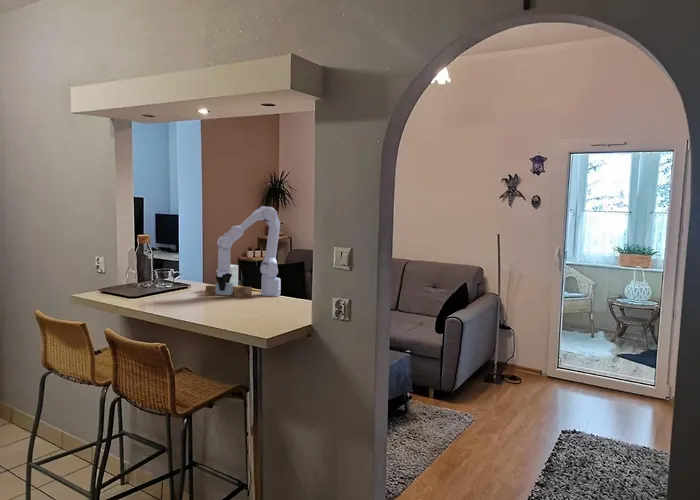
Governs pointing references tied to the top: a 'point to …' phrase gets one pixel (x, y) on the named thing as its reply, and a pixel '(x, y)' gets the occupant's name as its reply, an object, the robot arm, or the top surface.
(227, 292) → the cabinet block
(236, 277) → the small box
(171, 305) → the top surface
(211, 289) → the beige wooden bar
